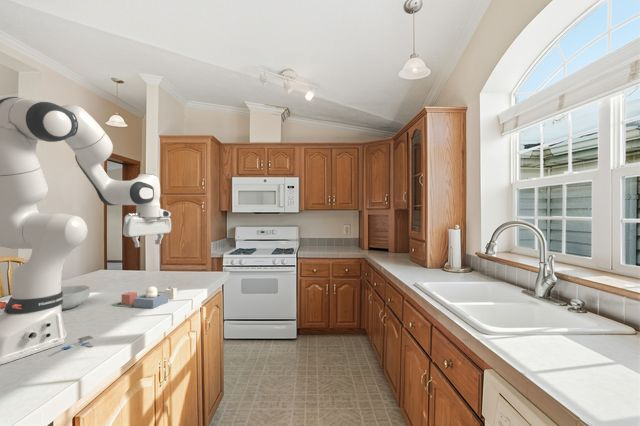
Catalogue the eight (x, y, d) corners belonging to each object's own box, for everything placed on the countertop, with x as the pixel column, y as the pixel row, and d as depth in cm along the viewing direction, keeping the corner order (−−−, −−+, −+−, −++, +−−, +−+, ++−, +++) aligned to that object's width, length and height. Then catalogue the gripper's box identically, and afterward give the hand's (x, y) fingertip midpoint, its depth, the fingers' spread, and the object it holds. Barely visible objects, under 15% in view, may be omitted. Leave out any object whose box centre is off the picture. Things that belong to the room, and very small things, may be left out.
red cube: (129, 305, 129) (129, 295, 129) (121, 305, 130) (121, 294, 130) (136, 303, 133) (137, 292, 133) (129, 302, 134) (129, 292, 134)
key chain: (83, 337, 98) (83, 334, 98) (110, 336, 98) (110, 334, 98) (47, 357, 84) (47, 354, 84) (78, 357, 84) (78, 354, 84)
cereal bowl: (44, 304, 129) (44, 287, 129) (93, 299, 136) (93, 283, 136) (29, 316, 114) (29, 297, 114) (84, 311, 121) (85, 293, 121)
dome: (152, 300, 128) (152, 288, 128) (143, 299, 129) (143, 287, 129) (159, 297, 133) (159, 285, 133) (150, 296, 134) (150, 284, 134)
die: (173, 298, 140) (173, 288, 140) (164, 298, 139) (164, 288, 139) (176, 296, 144) (176, 286, 144) (167, 296, 143) (168, 286, 143)
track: (130, 307, 127) (130, 306, 127) (112, 305, 128) (112, 304, 128) (168, 293, 149) (168, 292, 149) (152, 291, 151) (152, 291, 151)
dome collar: (153, 308, 126) (153, 300, 126) (133, 306, 127) (134, 298, 127) (167, 302, 135) (167, 294, 135) (149, 300, 136) (149, 292, 136)
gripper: (130, 213, 118) (130, 249, 119) (173, 212, 137) (173, 243, 138) (119, 213, 121) (119, 248, 121) (163, 212, 140) (163, 242, 140)
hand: (148, 245), depth 130 cm, fingers open, 8 cm apart
